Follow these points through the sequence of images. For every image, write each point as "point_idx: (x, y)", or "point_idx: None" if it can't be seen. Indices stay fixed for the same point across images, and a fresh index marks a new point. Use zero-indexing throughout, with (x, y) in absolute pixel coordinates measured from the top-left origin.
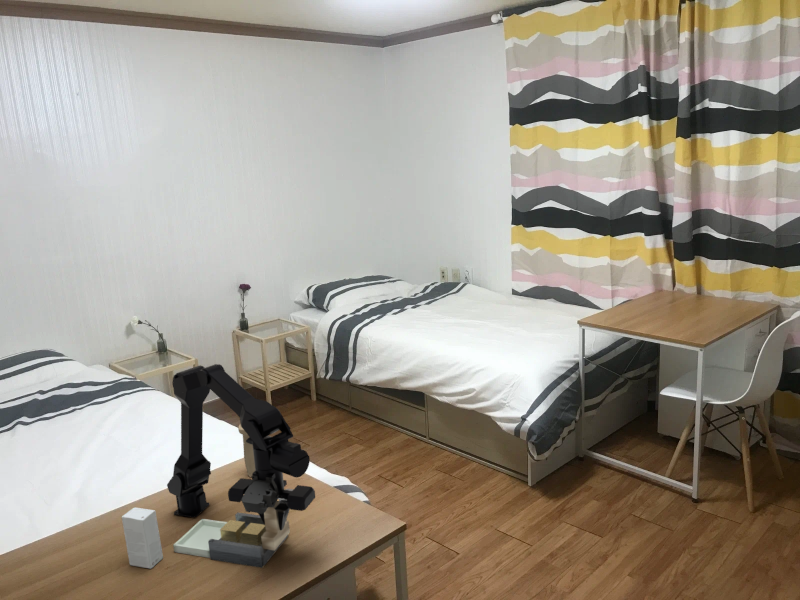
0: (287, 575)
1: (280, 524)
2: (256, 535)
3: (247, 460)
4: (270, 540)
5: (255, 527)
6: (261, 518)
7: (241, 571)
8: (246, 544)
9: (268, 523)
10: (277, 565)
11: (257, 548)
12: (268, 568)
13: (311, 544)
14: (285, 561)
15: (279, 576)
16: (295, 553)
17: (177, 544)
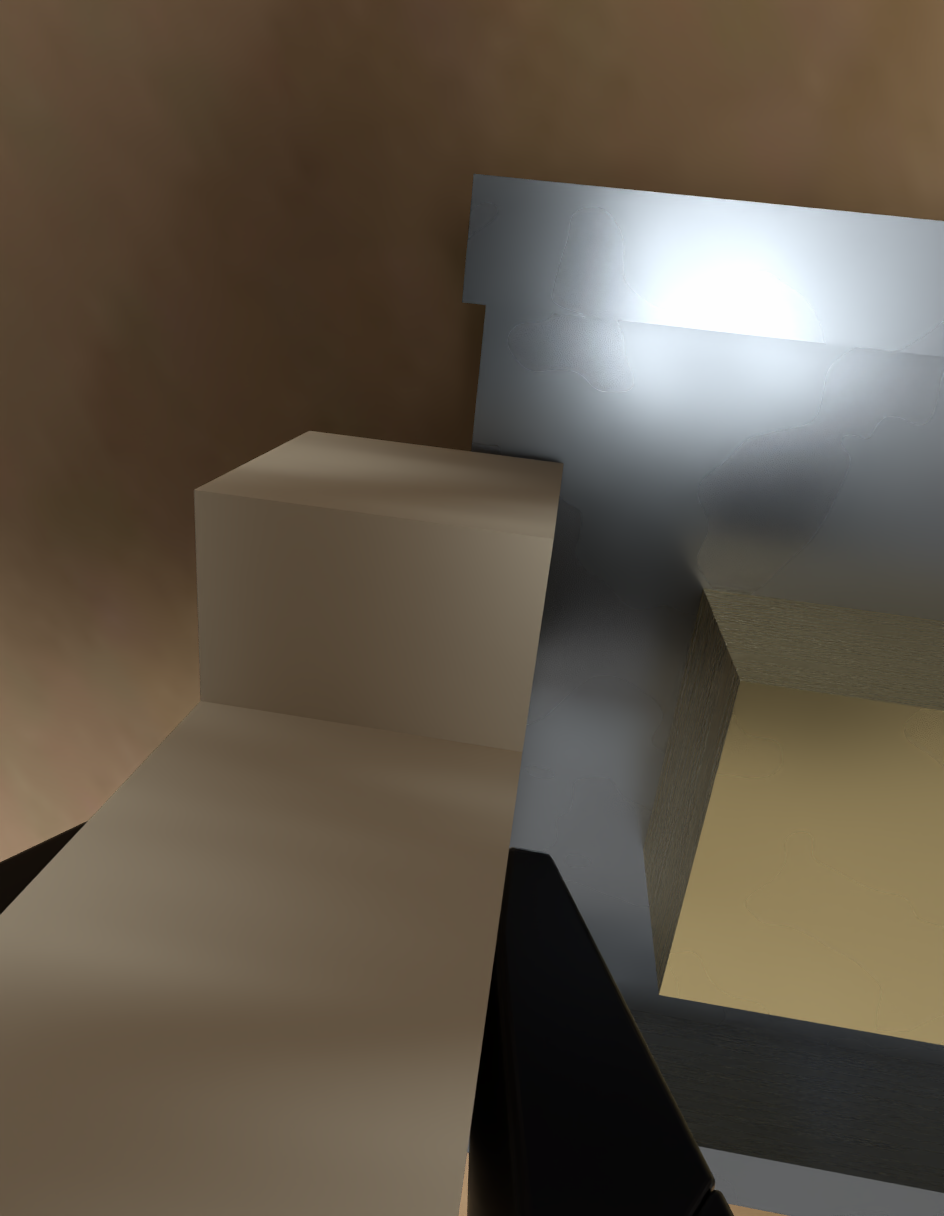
0: (46, 86)
1: (27, 871)
2: (756, 674)
3: None
4: (314, 484)
5: (870, 924)
6: (655, 1091)
7: (853, 60)
8: (923, 346)
9: (374, 896)
10: (310, 316)
11: (560, 204)
12: (413, 221)
13: (97, 777)
14: (241, 423)
15: (150, 35)
16: (195, 603)
17: None
